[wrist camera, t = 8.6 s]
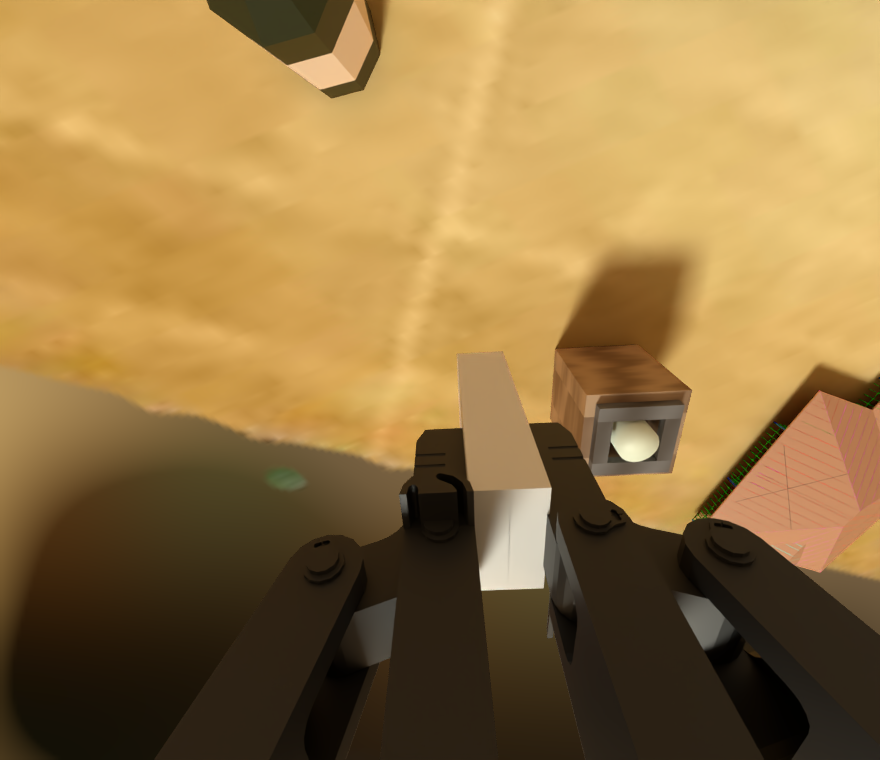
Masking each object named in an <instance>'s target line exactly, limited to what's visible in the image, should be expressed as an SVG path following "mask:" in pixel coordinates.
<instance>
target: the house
mask: <svg viewBox="0 0 880 760" xmlns="http://www.w3.org/2000/svg"><path fill="white" fill-rule="evenodd" d="M879 379H880V377H879ZM873 384H874V383H873ZM875 385H876V384H875ZM877 386H878V385H877ZM879 387H880V386H879ZM870 390H871V389H870ZM872 391H873V390H872ZM874 392H875V391H874ZM876 393H877V392H876ZM879 393H880V391H879V392H878V394H879ZM878 394H877V395H878ZM864 395H866V394H864ZM877 395H876V396H877ZM866 396H868V395H866ZM876 396H875V397H876ZM868 397H869V396H868ZM875 397H874V398H875ZM870 398H871V397H870ZM874 398H872V400H873V399H874ZM859 400H860V399H859ZM872 400H871V401H872ZM874 400H875V399H874ZM861 401H862V400H861ZM871 401H870V402H871ZM876 401H877V400H876ZM863 402H864V401H863ZM870 402H869V403H870ZM865 403H866V402H865ZM869 403H867V404H868V405H870V404H869ZM868 405H867V406H868ZM867 406H866V407H867ZM871 406H872V405H871ZM866 407H864V406H862V405H861V406H860V404H859V405H858V403H857V404H855V403H852V402H849V401H847V400H844V399H841V398H838V397H836V396H833V395H830V394H827V393H825V392H822V391H820V390H819V391H818V392H817V393H816V394H815V396H814V397H813V398H812V399H811V400H810V401H809V403H808V404H807V405H806V406H805V407H804V408H803V410H802V411H801V412H800V413H799V414H798V415H797V417H796V418H795V419H794V420H793V421H792V422H791V423H790V425H789V426H788V427H786V426H785V425H783V426H782V425H781V424H780V423H779V424H778V423H776V422H773V423H775V424H776V425H777V426H779V427H780V429H783V430H784V432H783V433H782V434H781V435H780V434H779V433H777V432H778V431H779V430H780V429H779V430H778V431H777V432H776V431H775V430H773V429H772V428H771V427H770V428H771V429H772V430H773V431H775V432H776V433H777V434H779V435H780V436H779V437H778V439H777V440H776V439H775V438H774V439H775V440H776V441H775V442H774V443H773V444H771V443H770V441H771V439H772V438H773V436H774V435H775V434H776V433H775V434H774V435H773V436H771V435H770V436H771V437H772V438H771V439H770V440H769V441H767V440H766V439H765V438H764V439H765V440H766V441H767V443H766V445H767V444H768V442H769V443H770V444H771V445H772V446H771V447H770V448H769V449H767V448H766V447H765V446H766V445H765V446H764V445H763V446H764V447H763V449H764V448H766V449H767V451H766V453H765V454H764V453H763V454H764V455H763V456H762V457H761V458H759V457H758V456H757V455H758V454H759V453H760V452H761V451H762V450H763V449H762V450H761V451H760V450H759V449H758V448H757V447H756V448H757V449H758V450H759V451H760V452H759V453H758V454H757V455H756V454H755V455H756V457H758V458H759V459H760V460H759V461H758V462H757V463H756V462H755V463H756V464H755V465H754V467H753V468H752V467H751V466H750V463H751V462H752V461H753V460H754V459H755V458H756V457H755V458H754V459H753V460H752V459H751V458H750V457H749V456H748V455H747V456H748V457H749V458H750V459H751V460H752V461H751V462H750V463H749V464H748V463H747V462H746V461H745V460H744V459H743V460H744V461H745V462H746V463H747V464H748V466H750V467H751V468H752V469H751V470H750V471H749V472H748V471H747V470H746V469H747V467H748V466H747V467H746V469H745V468H744V467H743V466H742V465H741V464H740V465H741V466H742V467H743V468H744V470H743V472H744V471H745V470H746V471H747V472H748V474H747V475H746V476H744V475H743V474H742V473H743V472H742V473H741V472H740V471H739V470H738V469H737V468H736V469H737V470H738V471H739V472H740V473H741V474H740V476H741V475H743V476H744V478H743V479H742V480H740V479H739V477H740V476H739V477H737V476H736V475H735V474H734V473H733V472H732V473H733V474H734V475H735V476H736V477H737V479H739V480H740V481H741V482H740V483H739V482H738V481H737V479H736V480H735V479H734V478H733V477H732V476H731V475H730V476H731V477H732V478H733V479H734V480H735V481H734V480H733V479H732V480H733V481H734V482H733V481H732V480H731V479H730V478H729V477H728V478H727V479H728V480H729V481H730V482H731V483H732V484H731V486H732V485H734V486H735V489H734V490H733V491H732V490H731V489H730V487H731V486H730V487H728V486H727V485H726V484H725V485H726V486H727V487H728V490H729V489H730V490H731V491H732V492H731V493H730V494H729V495H728V494H727V493H726V492H727V491H728V490H727V491H725V490H724V489H723V488H722V487H721V486H720V487H721V488H722V489H723V490H724V491H725V493H726V494H727V495H728V497H727V498H726V499H725V498H724V497H723V495H724V494H725V493H724V494H723V495H721V494H720V493H719V492H718V493H719V494H720V495H721V496H722V497H723V498H724V499H725V500H724V501H723V503H721V502H720V501H719V500H720V499H721V498H722V497H721V498H720V499H718V498H717V497H716V496H715V495H714V494H713V495H714V496H715V497H716V498H717V499H718V501H719V502H720V503H721V505H720V506H719V507H718V506H717V505H716V503H717V502H718V501H717V502H716V503H714V502H713V503H714V504H715V505H716V506H717V507H718V508H717V510H716V511H714V510H713V511H714V513H713V514H712V515H711V514H710V513H709V512H710V510H711V509H713V507H714V506H715V505H714V506H713V507H711V506H710V505H709V504H708V505H709V506H710V507H711V509H710V510H709V511H708V510H707V509H706V508H705V506H704V508H705V509H706V510H707V511H708V513H709V514H710V515H711V517H710V518H715V519H721V520H726V521H730V522H732V523H735V524H737V525H739V526H742V527H744V528H746V529H748V530H749V531H751V532H752V533H754V534H756V535H757V536H759V537H760V538H762V539H763V540H764V541H765V542H766V543H768V544H769V545H770V546H771V547H773V548H774V549H775V550H776V551H777V552H779V553H780V554H781V555H782V556H784V557H785V558H786V559H787V560H788V561H790V562H791V563H792V564H793V565H796V566H799V567H803V568H807V569H810V570H814V571H817V572H821V571H822V570H823V569H824V568H826V567H827V566H828V565H829V564H830V563H831V562H832V561H833V560H834V559H836V558H837V557H838V556H839V555H840V554H841V553H842V552H843V551H844V550H846V549H847V548H848V547H849V546H850V545H851V544H852V543H853V542H854V541H855V540H857V539H858V538H859V537H860V536H861V535H862V534H863V533H864V532H865V531H867V530H868V529H869V528H870V527H871V526H872V525H873V524H874V523H875V522H877V521H878V520H879V519H880V401H878V404H877V405H876V406H875V407H874V406H873V407H874V408H873V409H872V410H871V409H869V408H866ZM780 425H781V426H780ZM784 426H785V427H786V428H785V427H784ZM766 433H767V432H766ZM767 434H768V433H767ZM768 435H769V434H768ZM762 438H763V437H762ZM758 442H759V441H758ZM759 443H760V442H759ZM760 444H761V443H760ZM761 445H762V444H761ZM754 447H755V446H754ZM750 451H751V450H750ZM751 452H752V451H751ZM752 453H753V452H752ZM761 453H762V452H761ZM753 454H754V453H753ZM753 462H754V461H753ZM736 482H737V483H738V484H737V483H736ZM724 483H725V482H724ZM735 483H736V484H735ZM736 485H737V486H736ZM717 491H718V490H717ZM710 499H711V498H710ZM711 500H712V499H711ZM712 501H713V500H712ZM707 503H708V502H707ZM701 512H702V511H701ZM702 513H703V512H702ZM708 513H707V514H708ZM703 514H704V513H703ZM707 514H706V515H705V514H704V517H706V516H707ZM698 516H699V515H698ZM699 517H700V516H699ZM704 517H703V518H704ZM695 518H696V516H695ZM700 518H701V517H700ZM706 518H707V517H706ZM696 519H697V518H696ZM692 521H694V520H693V519H692Z"/></svg>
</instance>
